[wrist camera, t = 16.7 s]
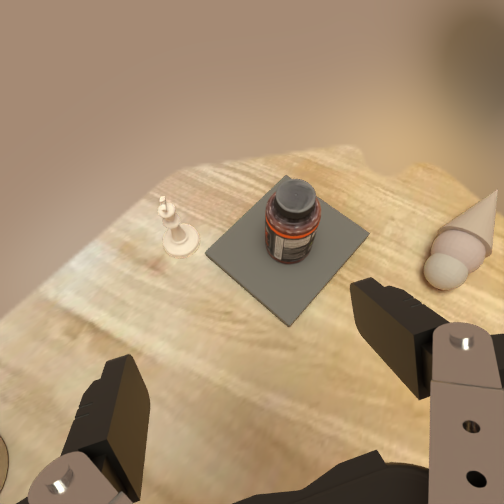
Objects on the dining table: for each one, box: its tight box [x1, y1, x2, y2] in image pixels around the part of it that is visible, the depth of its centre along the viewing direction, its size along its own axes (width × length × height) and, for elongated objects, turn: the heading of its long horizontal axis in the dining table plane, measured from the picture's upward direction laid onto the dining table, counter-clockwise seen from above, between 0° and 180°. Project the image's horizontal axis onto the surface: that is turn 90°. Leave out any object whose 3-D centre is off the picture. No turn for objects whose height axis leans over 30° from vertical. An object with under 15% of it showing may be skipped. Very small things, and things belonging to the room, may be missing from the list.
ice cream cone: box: [424, 189, 498, 290], centre depth 42 cm, size 6×6×15 cm
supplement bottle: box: [265, 179, 321, 264], centre depth 39 cm, size 6×6×11 cm
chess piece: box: [158, 196, 200, 258], centre depth 42 cm, size 5×5×10 cm
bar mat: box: [205, 175, 370, 327], centre depth 45 cm, size 16×14×1 cm
